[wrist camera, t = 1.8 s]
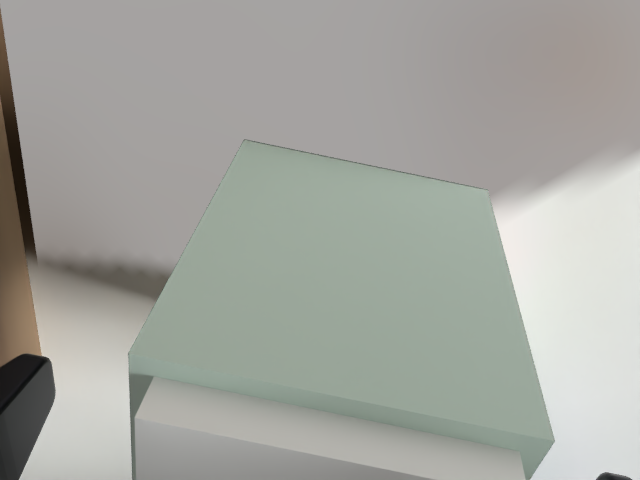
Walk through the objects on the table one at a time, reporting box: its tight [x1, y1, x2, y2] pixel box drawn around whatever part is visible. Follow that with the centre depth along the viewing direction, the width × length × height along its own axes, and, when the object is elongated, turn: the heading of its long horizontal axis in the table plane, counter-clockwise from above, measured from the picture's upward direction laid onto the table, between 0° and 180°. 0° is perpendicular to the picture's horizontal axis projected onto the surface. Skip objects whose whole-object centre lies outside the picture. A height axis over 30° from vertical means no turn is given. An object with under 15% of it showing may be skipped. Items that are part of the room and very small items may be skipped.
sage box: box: [128, 139, 555, 480], centre depth 10 cm, size 5×5×7 cm
